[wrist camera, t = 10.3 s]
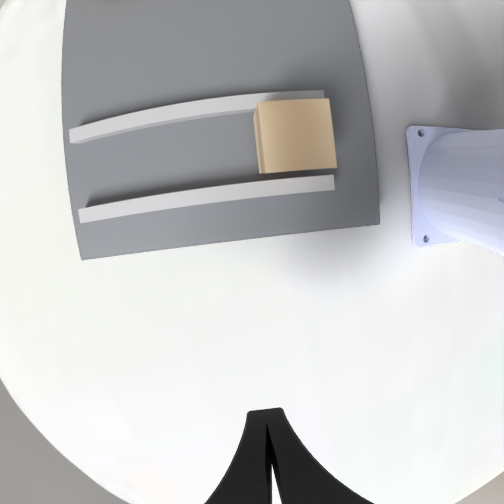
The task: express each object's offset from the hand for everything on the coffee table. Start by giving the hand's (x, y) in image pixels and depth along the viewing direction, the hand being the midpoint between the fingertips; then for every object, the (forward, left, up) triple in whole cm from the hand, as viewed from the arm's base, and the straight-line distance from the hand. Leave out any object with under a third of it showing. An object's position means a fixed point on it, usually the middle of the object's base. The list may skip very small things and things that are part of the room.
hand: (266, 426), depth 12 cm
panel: (+1, -18, -9) cm, 20 cm away
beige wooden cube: (-3, -11, -8) cm, 14 cm away
